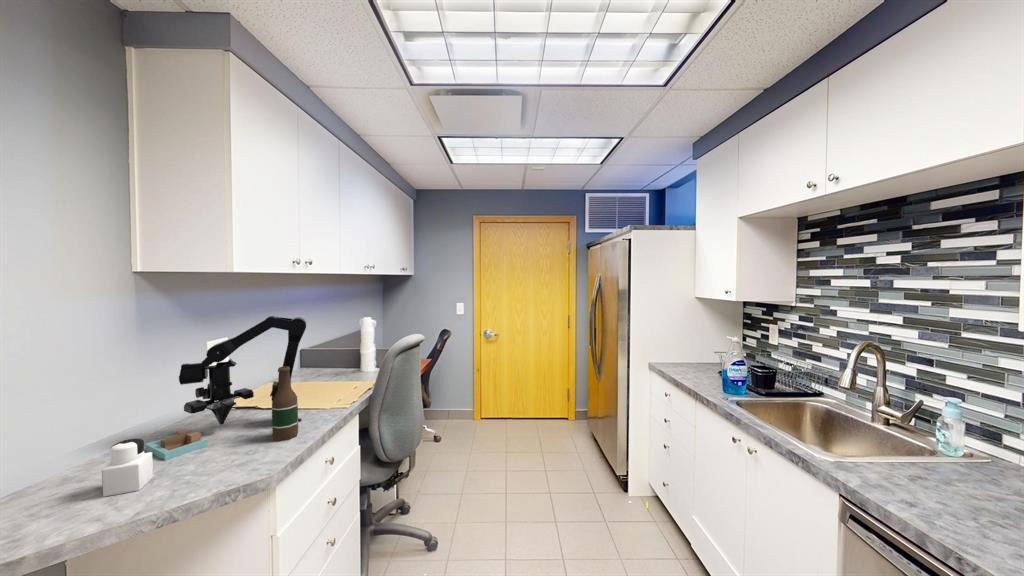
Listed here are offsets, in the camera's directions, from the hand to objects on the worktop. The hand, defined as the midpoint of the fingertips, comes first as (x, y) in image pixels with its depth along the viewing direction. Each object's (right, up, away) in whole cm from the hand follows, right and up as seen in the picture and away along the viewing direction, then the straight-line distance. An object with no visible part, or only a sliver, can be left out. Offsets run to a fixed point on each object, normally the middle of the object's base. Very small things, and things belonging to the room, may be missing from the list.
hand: (221, 424), depth 130 cm
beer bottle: (+24, -3, -3) cm, 25 cm away
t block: (-5, -4, -11) cm, 13 cm away
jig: (-6, -4, -11) cm, 13 cm away
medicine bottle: (+2, -5, -33) cm, 33 cm away
